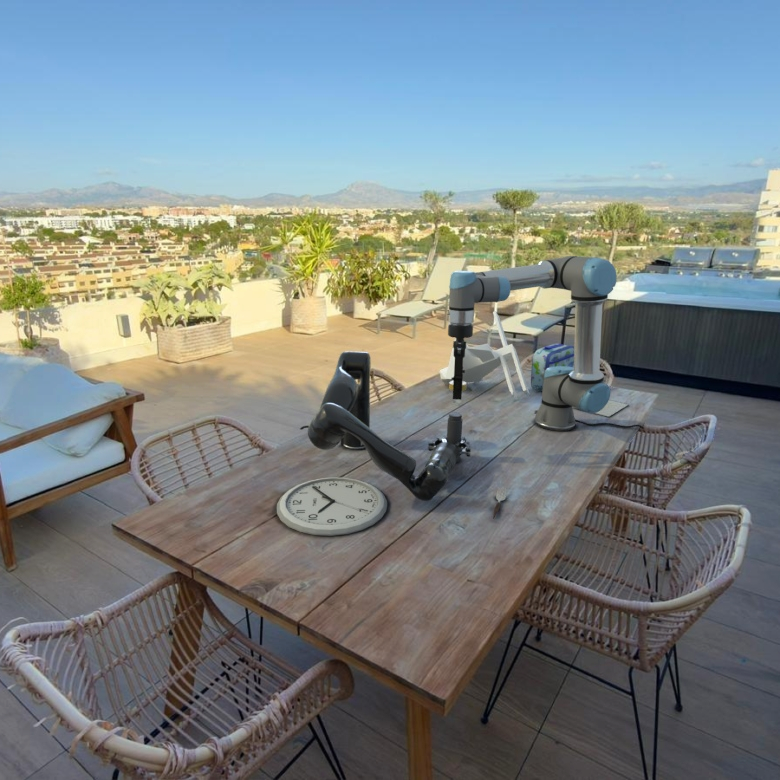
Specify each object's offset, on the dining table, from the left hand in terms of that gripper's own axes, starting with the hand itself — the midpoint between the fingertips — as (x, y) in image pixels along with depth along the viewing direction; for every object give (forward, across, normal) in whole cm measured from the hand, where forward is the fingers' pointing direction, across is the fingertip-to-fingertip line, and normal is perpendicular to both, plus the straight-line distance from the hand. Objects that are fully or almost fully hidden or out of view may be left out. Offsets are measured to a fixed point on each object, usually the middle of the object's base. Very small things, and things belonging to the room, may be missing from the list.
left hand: (455, 438), depth 172 cm
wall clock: (-43, -24, -7) cm, 50 cm away
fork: (-28, +18, -7) cm, 34 cm away
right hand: (-2, 0, +16) cm, 16 cm away
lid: (-2, 0, +20) cm, 20 cm away
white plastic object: (+74, -5, -7) cm, 75 cm away
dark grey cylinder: (-3, 0, -7) cm, 7 cm away
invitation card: (+74, +48, -7) cm, 89 cm away
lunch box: (+95, +26, -7) cm, 98 cm away
